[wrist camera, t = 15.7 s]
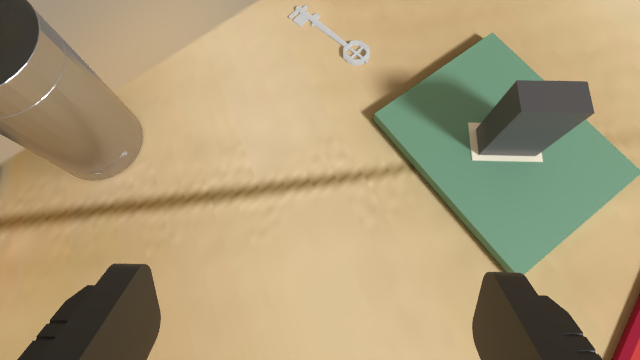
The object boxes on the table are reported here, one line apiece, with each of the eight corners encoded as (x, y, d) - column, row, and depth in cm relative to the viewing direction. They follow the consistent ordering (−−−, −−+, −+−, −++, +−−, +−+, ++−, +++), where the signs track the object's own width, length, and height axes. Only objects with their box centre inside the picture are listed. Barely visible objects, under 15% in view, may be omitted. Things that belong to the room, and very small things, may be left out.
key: (358, 73, 48) (376, 56, 48) (358, 68, 47) (377, 51, 47) (287, 18, 50) (305, 3, 51) (286, 12, 49) (304, -3, 50)
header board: (372, 119, 45) (378, 99, 41) (487, 40, 49) (503, 14, 44) (512, 279, 39) (535, 275, 35) (631, 177, 43) (665, 161, 39)
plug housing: (535, 156, 42) (594, 113, 33) (478, 155, 42) (521, 111, 33) (531, 130, 43) (587, 81, 34) (475, 129, 43) (516, 80, 34)
